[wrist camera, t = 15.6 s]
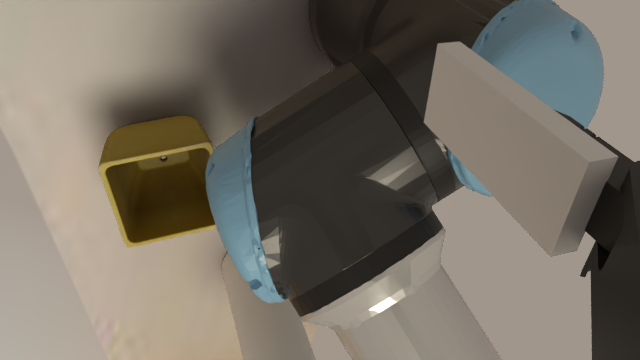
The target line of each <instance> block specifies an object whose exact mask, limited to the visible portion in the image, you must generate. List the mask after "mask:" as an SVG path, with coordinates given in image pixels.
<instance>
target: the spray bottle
mask: <svg viewBox="0 0 640 360" xmlns="http://www.w3.org/2000/svg"><path fill="white" fill-rule="evenodd" d="M222 273H223V277H224V281H225V285H226V289H227V293H228V298H229V302H230V306H231V310H232V314H233V318H234V322H235V326H236V330H237V334H238V339H239V343H240V347H241V351H242V355H243V359H244V360H316V359H315V356H314V354H313V351H312V348H311V345H310V343H309V340H308V337H307V334H306V332H305V329H304V326H303V324H302V321H301V318H300V317H299V315H298V313H297V312H296V310H295V308H294V307H293V305H292V303H291V302H290V300H289V299H288V298H287V299H286V300H285V301H283V302H281V303H278V302H276V303H267V302H264V301H262V300H261V299H259V298H258V297H257V296H256V295H255V294H254V293H253V292H252V290H251V288H250V286H249V284H248V282H247V280H244V279H243V278H242V277H241V276H240V274H239V272H238V271H237V269H236V267H235V266H234V264H233V262H232V260H231V258H230V256H229V254H228V253H227V254H226V256H225V257H224V259H223V262H222Z"/></svg>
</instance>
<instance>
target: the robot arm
mask: <svg viewBox="0 0 640 360" xmlns="http://www.w3.org/2000/svg"><path fill="white" fill-rule="evenodd" d="M309 16H310V24H311V28H312V32H313V35H314V38H315V40H316V42H317V44H318V46H319V48H320V49H321V51H322V52H323V54H324V55H325V56H326V57H327V59H328V60H329V61H330V62H331V63H332V64H333V66H334V67H335V69H334V70H332V71H330V72H329V73H327V74H326V75H324V76H323V77H321V78H320V79H318V80H316V81H315V82H313V83H312V84H310V85H309V86H307V87H306V88H304V89H302V90H301V91H299V92H298V93H296V94H295V95H293V96H292V97H290V98H289V99H287V100H285V101H284V102H282V103H281V104H279V105H278V106H276V107H275V108H273V109H271V110H270V111H268V112H267V113H265V114H264V115H262V116H261V117H258V116H256V117H254V118H252V119H251V120H250V121H249V122H248V124H247V126H246V127H244V128H243V129H241V130H240V131H239V132H237V133H236V134H234V135H233V136H232V137H230V138H229V139H228V140H226V141H225V142H223V143H222V144H221V145H219V146H218V147H217V148H216V149H215V150H214V151H213V153H212V154H211V156H210V158H209V160H208V162H207V167H206V174H205V175H206V191H207V196H208V201H209V205H210V209H211V212H212V215H213V218H214V221H215V224H216V227H217V230H218V232H219V235H220V237H221V239H222V242H223V244H224V246H225V248H226V250H227V252H228V254H229V256H230V258H231V260H232V262H233V264H234V266H235V267H236V269H237V271H238V272H239V274H240V276H241V277H242V278H243V279H244V280H247V282H248V284H249V286H250V288H251V290H252V292H253V293H254V294H255V295H256V296H257V297H258V298H259V299H261V300H262V301H264V302H267V303H276V302H278V303H281V302H283V301H285V300H286V299H287V298H288V299H289V300H290V302H291V303H292V305H293V307H294V308H295V310H296V312H297V313H298V315H299V317H300V318H301V320H302V321H305V322H309V323H313V324H318V325H322V326H326V327H328V328H330V329H332V330H334V331H335V332H336V334H337V336H338V337H339V339H340V341H341V342H342V344H343V346H344V347H345V349H346V350H347V352H348V354H349V355H350V357H351V359H352V360H502V359H501V357H500V355H499V354H498V352H497V351H496V349H495V348H494V346H493V345H492V343H491V342H490V340H489V338H488V337H487V335H486V334H485V332H484V331H483V329H482V327H481V326H480V324H479V323H478V321H477V320H476V318H475V317H474V315H473V313H472V312H471V311H470V309H469V307H468V306H467V304H466V303H465V301H464V300H463V298H462V296H461V295H460V293H459V292H458V290H457V289H456V287H455V286H454V284H453V282H452V281H451V279H450V278H449V276H448V274H447V273H446V271H445V270H444V268H443V267H442V265H441V260H440V255H441V250H442V246H443V241H444V236H445V229H444V227H443V226H442V224H441V223H440V221H439V220H438V218H437V216H436V215H435V213H434V212H433V210H432V205H434V204H435V203H437V202H439V201H440V200H442V199H443V198H445V197H446V196H448V195H450V194H451V193H453V192H454V191H456V190H458V189H459V188H461V187H462V186H464V185H465V186H466V187H467V188H468V189H471V190H472V191H477V192H478V193H481V194H483V195H487V196H494V197H495V198H496V200H497V201H498V202H499V203H500V204H501V205H502V206H503V207H504V208H505V209H506V210H507V211H508V212H509V213H510V214H511V215H512V217H513V218H515V220H516V221H517V222H518V223H519V224H520V225H521V226H522V227H523V228H524V229H525V230H526V231H527V232H528V233H529V235H531V236H532V238H533V239H534V240H535V241H536V242H537V243H538V244H539V245H540V246H541V247H542V248H543V249H544V250H545V251H546V252H547V254H549V256H550V257H552V256H556V255H561V254H565V253H569V252H574V251H577V249H578V247H579V244H580V242H581V240H582V238H583V235H584V233H585V231H586V232H587V233H588V234H589V235H591V236H592V237H593V238H594V239H595V240H596V242H595V244H594V246H593V248H592V250H591V252H590V254H589V257H588V259H587V261H586V263H585V265H584V267H583V269H582V272H581V275H580V276H582V277H585V276H586V274H587V272H588V271H590V270H591V310H592V311H591V316H592V360H640V161H637V162H633V161H632V160H630V159H629V158H628V157H626V156H625V155H623V154H622V153H620V152H619V151H618V150H616V149H615V148H613V147H612V146H611V145H609V144H608V143H607V142H605V141H604V140H602V139H601V138H600V137H596V135H595V134H594V133H592V132H591V131H590V130H588V129H587V127H588V125H589V123H590V121H591V120H592V118H593V116H594V115H595V112H596V110H597V107H598V104H599V101H600V97H601V93H602V87H603V77H604V66H603V58H602V54H601V50H600V47H599V44H598V42H597V40H596V38H595V37H594V35H593V34H592V32H591V31H590V30H589V29H588V28H587V26H585V25H584V24H583V23H581V22H580V21H579V20H578V19H576V18H574V17H573V16H571V15H570V14H568V13H567V12H565V11H564V10H562V9H561V8H560V7H559V6H558V5H557V4H556V3H555V2H553V1H551V0H310V1H309Z"/></svg>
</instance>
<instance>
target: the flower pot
mask: <svg viewBox="0 0 640 360" xmlns="http://www.w3.org/2000/svg"><path fill="white" fill-rule="evenodd" d="M213 151H214V149H213V145H212V143H211V141H210V140H209V138H208V136H207V134H206V132H205V131H204V129H203V127H202V125H201V124H200V122H199V121H198V120H196V119H195V118H193V117H190V116H174V117H168V118H163V119H158V120H152V121H147V122H141V123H135V124H130V125H127V126H123V127H121V128H118V129H116V130H115V131H113V132H112V133H111V134H110V135H109V137H108V138H107V140H106V143H105V146H104V149H103V153H102V156H101V160H100V164H99V167H98V169H99V173H100V176H101V178H102V181H103V184H104V187H105V189H106V192H107V195H108V198H109V200H110V203H111V206H112V209H113V212H114V214H115V217H116V220H117V223H118V226H119V229H120V232H121V235H122V238H123V241H124V243H125V244H126V246H127V247H136V246H140V245H145V244H149V243H153V242H157V241H161V240H165V239H169V238H173V237H177V236H181V235H186V234H190V233H195V232H199V231H204V230H208V229H212V228H216V224H215V221H214V218H213V215H212V212H211V209H210V205H209V201H208V196H207V191H206V175H205V174H206V167H207V162H208V160H209V158H210V156H211V154H212V153H213ZM162 156H166V157H167V159H166V160H161V157H162Z"/></svg>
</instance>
